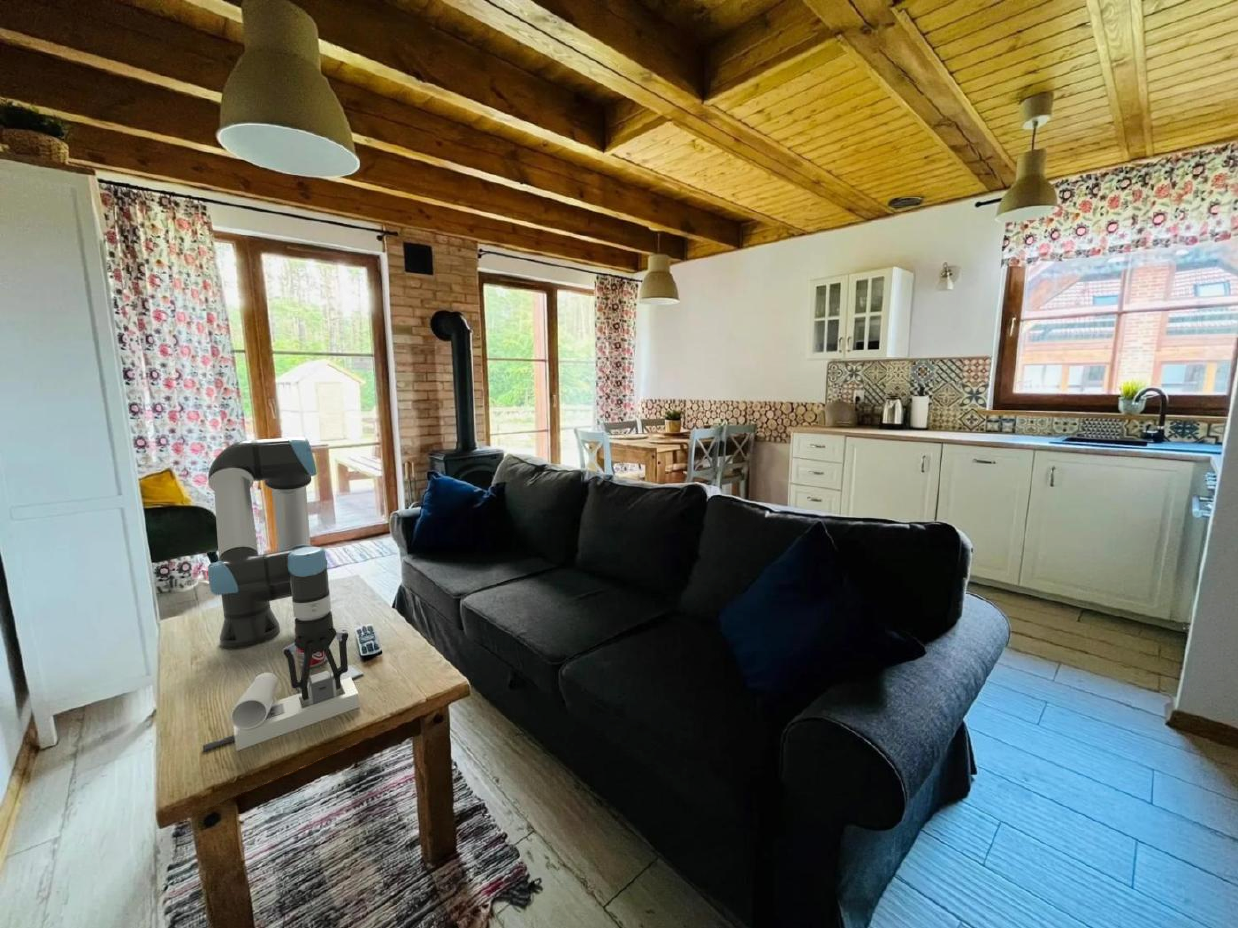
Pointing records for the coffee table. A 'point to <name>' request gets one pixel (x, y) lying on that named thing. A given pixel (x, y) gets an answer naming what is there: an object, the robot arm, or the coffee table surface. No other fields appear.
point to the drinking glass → (255, 702)
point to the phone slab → (346, 674)
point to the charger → (321, 687)
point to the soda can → (316, 658)
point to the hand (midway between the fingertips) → (323, 705)
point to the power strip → (293, 716)
